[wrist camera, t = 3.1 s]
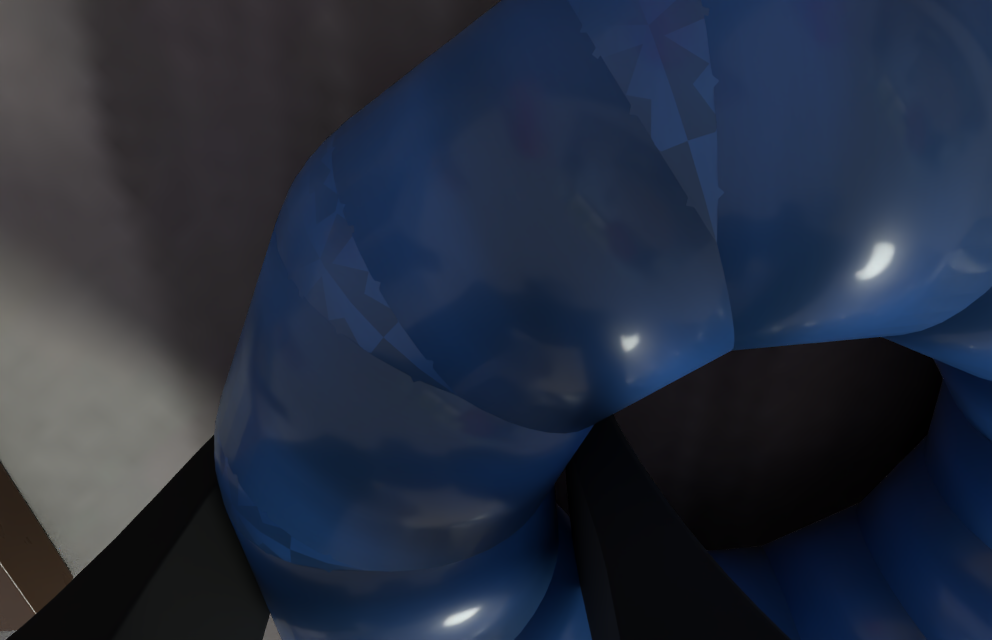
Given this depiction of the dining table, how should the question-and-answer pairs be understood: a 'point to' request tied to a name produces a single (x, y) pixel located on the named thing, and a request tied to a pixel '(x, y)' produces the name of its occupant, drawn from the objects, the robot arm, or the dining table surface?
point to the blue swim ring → (616, 307)
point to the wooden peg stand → (25, 560)
